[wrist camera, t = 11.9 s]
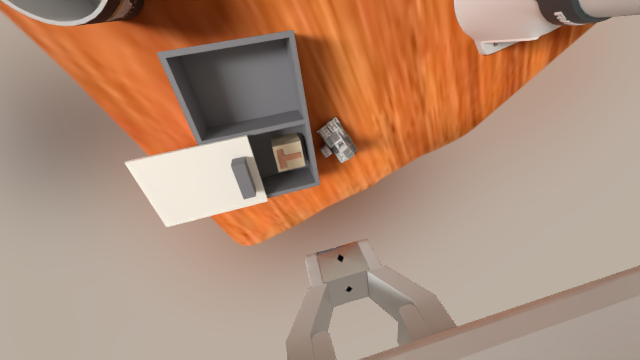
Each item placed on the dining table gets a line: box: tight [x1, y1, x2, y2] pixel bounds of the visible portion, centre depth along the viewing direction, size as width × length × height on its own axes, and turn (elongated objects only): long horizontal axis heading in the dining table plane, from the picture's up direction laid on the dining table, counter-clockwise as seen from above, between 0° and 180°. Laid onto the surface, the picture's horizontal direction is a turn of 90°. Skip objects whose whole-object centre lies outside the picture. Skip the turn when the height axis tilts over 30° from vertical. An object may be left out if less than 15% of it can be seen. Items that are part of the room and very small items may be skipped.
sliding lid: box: [125, 135, 268, 227], centre depth 30 cm, size 14×10×2 cm
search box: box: [157, 30, 320, 198], centre depth 32 cm, size 14×20×6 cm
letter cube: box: [271, 132, 305, 172], centre depth 36 cm, size 4×4×4 cm
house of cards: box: [317, 117, 357, 163], centre depth 36 cm, size 9×9×8 cm
